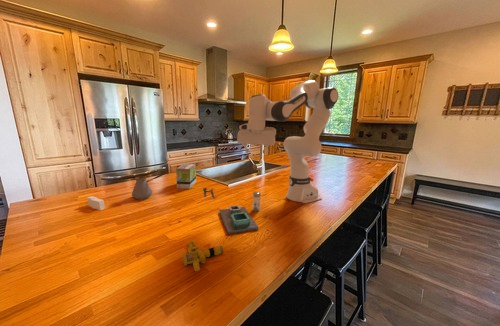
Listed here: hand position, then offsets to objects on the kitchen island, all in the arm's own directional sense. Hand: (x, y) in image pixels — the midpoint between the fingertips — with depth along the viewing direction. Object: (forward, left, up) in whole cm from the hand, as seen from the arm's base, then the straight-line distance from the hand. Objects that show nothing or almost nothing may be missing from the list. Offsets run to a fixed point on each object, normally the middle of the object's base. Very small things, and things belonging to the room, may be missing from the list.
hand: (255, 152), depth 110 cm
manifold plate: (+13, +12, -32) cm, 36 cm away
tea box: (+35, -49, -32) cm, 68 cm away
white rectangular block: (+84, -24, -32) cm, 93 cm away
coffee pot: (+57, -33, -32) cm, 73 cm away
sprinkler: (+32, +34, -32) cm, 57 cm away
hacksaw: (+20, -26, -32) cm, 46 cm away
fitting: (0, +4, -32) cm, 32 cm away
